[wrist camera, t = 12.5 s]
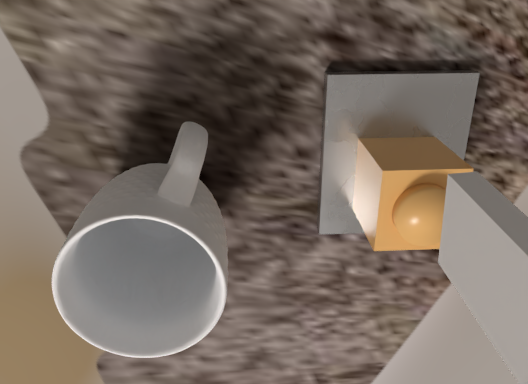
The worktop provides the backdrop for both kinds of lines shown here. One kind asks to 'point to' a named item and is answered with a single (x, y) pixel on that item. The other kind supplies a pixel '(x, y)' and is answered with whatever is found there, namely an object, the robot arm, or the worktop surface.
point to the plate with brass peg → (384, 126)
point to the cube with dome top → (403, 190)
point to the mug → (147, 258)
